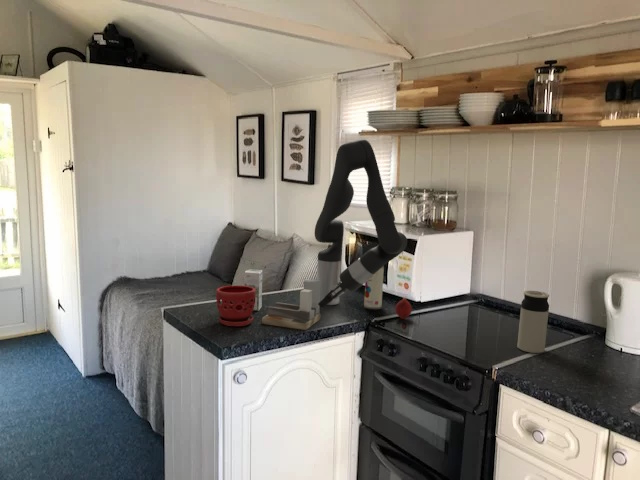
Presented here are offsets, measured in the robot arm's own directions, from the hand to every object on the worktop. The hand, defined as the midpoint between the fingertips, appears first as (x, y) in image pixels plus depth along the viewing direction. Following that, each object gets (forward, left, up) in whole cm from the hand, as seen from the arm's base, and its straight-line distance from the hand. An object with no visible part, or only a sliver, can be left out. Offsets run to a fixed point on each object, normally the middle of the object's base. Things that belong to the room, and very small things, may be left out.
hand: (320, 305), depth 183 cm
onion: (-21, +25, -7) cm, 33 cm away
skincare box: (-14, -8, -7) cm, 18 cm away
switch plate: (0, -10, -7) cm, 12 cm away
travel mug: (-7, +68, -7) cm, 68 cm away
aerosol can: (-32, +11, -7) cm, 34 cm away
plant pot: (+10, -27, -7) cm, 29 cm away
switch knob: (0, -5, -5) cm, 7 cm away
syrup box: (-8, -29, -7) cm, 31 cm away
